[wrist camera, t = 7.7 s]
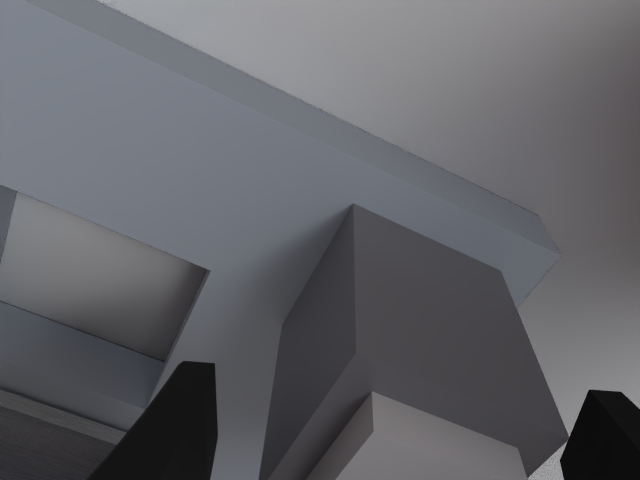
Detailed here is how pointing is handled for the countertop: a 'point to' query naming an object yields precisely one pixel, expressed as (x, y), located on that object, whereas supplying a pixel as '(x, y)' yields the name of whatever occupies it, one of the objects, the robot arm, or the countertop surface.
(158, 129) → the socket panel
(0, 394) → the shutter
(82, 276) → the countertop surface
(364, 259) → the plug
